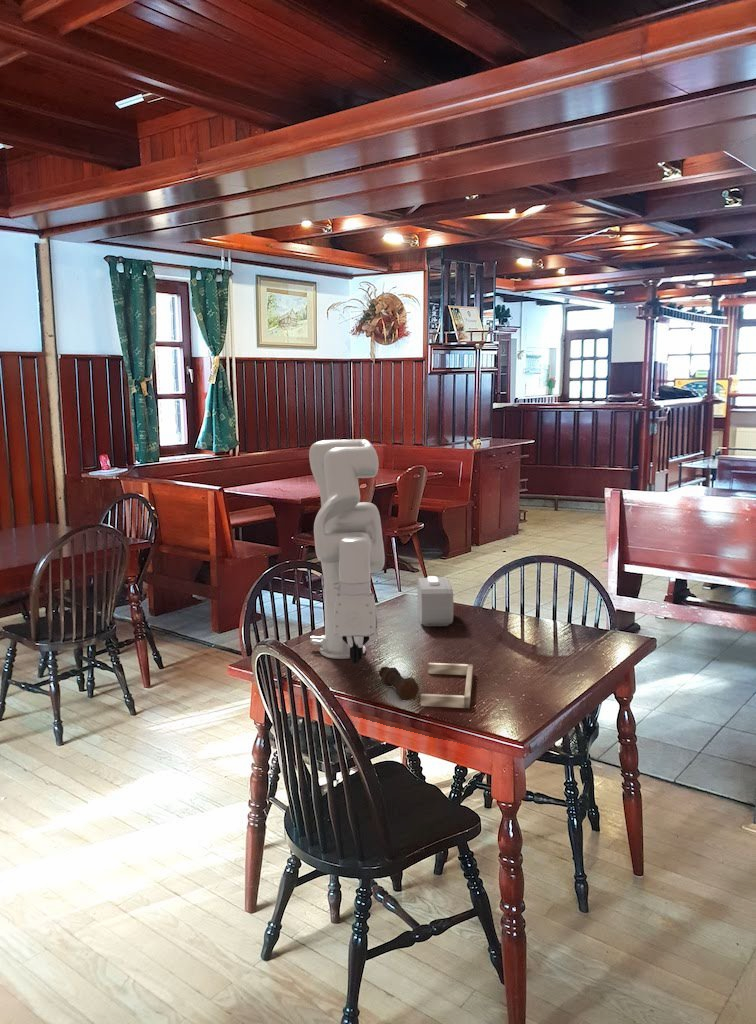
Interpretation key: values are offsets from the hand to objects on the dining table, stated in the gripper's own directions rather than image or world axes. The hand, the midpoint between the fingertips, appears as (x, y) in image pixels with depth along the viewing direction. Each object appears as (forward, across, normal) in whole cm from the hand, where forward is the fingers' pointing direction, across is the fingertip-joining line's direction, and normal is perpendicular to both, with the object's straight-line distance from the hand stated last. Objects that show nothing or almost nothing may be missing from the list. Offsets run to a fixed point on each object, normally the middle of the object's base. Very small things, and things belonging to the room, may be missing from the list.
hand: (356, 661), depth 200 cm
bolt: (+7, +10, 0) cm, 12 cm away
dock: (+6, +22, +1) cm, 23 cm away
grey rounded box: (+5, +15, +58) cm, 60 cm away
